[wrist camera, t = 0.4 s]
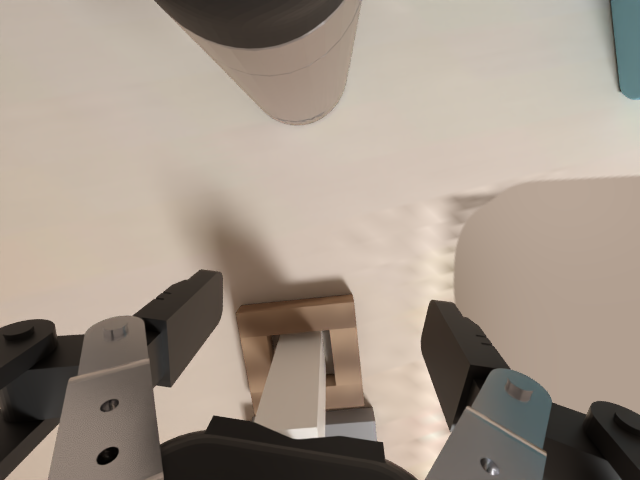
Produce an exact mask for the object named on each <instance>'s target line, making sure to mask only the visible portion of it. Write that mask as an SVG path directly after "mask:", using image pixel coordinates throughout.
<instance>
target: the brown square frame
mask: <svg viewBox="0 0 640 480" xmlns="http://www.w3.org/2000/svg"><path fill="white" fill-rule="evenodd" d="M236 318H237V323H238V329H239V334H240V339H241V345H242V350H243V355H244V361H245V366H246V371H247V377H248V382H249V387H250V393H251V398H252V403H253V409H254V414H255V415H256V413H257V410H258V406H259V403H260V400H261V397H262V393H263V390H264V387H265V383H266V380H267V377H268V373H269V370H270V367H271V364H272V360H273V357H274V354H275V352H274V346H273V340H272V335H280V334H291V333H301V332H312V331H323V330H330V338H331V347H332V355H333V363H334V372H335V374H326V401H325V409H334V408H346V407H358V406H364V397H363V387H362V377H361V367H360V357H359V347H358V337H357V327H356V317H355V307H354V300H353V295H352V294H350V295H340V296H330V297H320V298H310V299H300V300H290V301H280V302H270V303H260V304H250V305H241V306H240V308H239V309H238V311H237V312H236Z"/></svg>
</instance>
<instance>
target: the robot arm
mask: <svg viewBox="0 0 640 480" xmlns="http://www.w3.org/2000/svg"><path fill="white" fill-rule="evenodd" d="M154 1H155V2H156V3H157V4H158V5H159V6H160V7H161V8H162V9H163V10H164V11H165V12H166V13H167V14H168V15H169V16H170V17H171V18H172V19H173V20H174V21H175V22H176V23H177V24H178V25H179V26H180V27H181V28H182V29H183V30H184V31H185V32H186V33H187V34H188V35H189V36H190V37H191V38H192V39H193V40H194V41H195V42H196V43H197V44H198V45H199V46H200V47H201V48H202V49H203V50H204V51H205V52H206V53H207V54H208V55H209V56H210V57H211V58H212V59H213V60H214V61H215V62H216V63H217V64H218V65H219V66H220V67H221V68H222V69H223V70H224V71H225V72H226V73H227V74H228V75H229V76H230V77H231V78H232V79H233V80H234V81H235V83H236V84H237V85H238V86H239V87H240V88H241V89H242V90H243V91H244V92H245V93H246V94H247V95H248V96H249V97H250V98H251V99H252V100H253V101H254V102H255V103H256V104H257V105H258V106H259V107H260V108H261V109H262V110H263V111H264V112H265V113H266V114H268V115H269V116H270V117H272V118H273V119H275V120H277V121H280V122H282V123H285V124H290V125H305V124H309V123H313V122H315V121H317V120H319V119H321V118H323V117H324V116H325V115H327V114H328V113H329V112H330V111H331V110H332V109H333V108H334V107H335V106H336V104H337V103H338V101H339V100H340V98H341V96H342V94H343V91H344V88H345V85H346V81H347V76H348V71H349V67H350V61H351V56H352V51H353V45H354V40H355V35H356V29H357V24H358V19H359V14H360V8H361V3H362V0H154ZM222 310H223V277H222V273H221V272H218V271H210V270H202V269H201V270H199V271H198V272H197V273H195V274H194V275H193V276H192V277H191V278H189V279H188V280H183V281H181V282H178V283H176V284H173V285H172V286H170V287H169V288H168V289H166V290H165V291H164V292H163V293H161V294H160V295H159V296H157V297H156V299H154V300H152V301H151V302H150V303H148V304H147V305H146V306H144V307H143V308H142V309H141V310H139V311H138V312H137V313H135V314H134V315H133V316H117V317H112V318H109V319H105V320H103V321H100V322H98V323H96V324H94V325H93V326H91V327H90V328H89V329H88V330H87V331H86V333H85V334H83V335H67V336H57V334H56V329H55V324H54V323H53V322H51V321H49V320H44V319H34V320H26V321H21V322H17V323H13V324H10V325H7V326H4V327H2V328H0V480H4V479H5V478H6V477H7V476H8V475H9V474H10V473H11V472H12V471H13V470H14V469H15V468H16V467H17V466H18V465H19V464H20V463H21V462H22V461H23V460H24V459H25V458H26V457H27V456H28V455H29V454H30V453H31V451H32V450H33V449H34V448H35V447H36V446H37V445H38V444H39V443H40V442H41V441H42V440H43V439H44V438H45V437H46V436H47V435H48V434H49V433H50V432H51V431H52V430H53V429H54V428H55V427H56V426H57V425H58V424H59V428H58V433H57V438H56V443H55V447H54V452H53V457H52V462H51V467H50V472H49V477H48V480H418V479H417V478H415V477H414V476H413V475H412V474H410V473H409V472H407V471H406V470H405V469H403V468H402V467H400V466H398V465H396V464H394V463H393V462H391V461H389V460H386V459H385V455H384V447H383V442H377V441H371V440H365V439H358V438H352V437H346V436H330V437H319V438H307V439H293V438H290V437H288V436H285V435H283V434H281V433H278V432H276V431H274V430H272V429H269V428H267V427H265V426H262V425H260V424H258V423H255V422H251V421H245V420H239V419H232V418H226V417H220V416H213V418H212V420H211V421H210V423H209V425H208V427H207V429H206V430H204V431H197V432H192V433H188V434H184V435H181V436H178V437H176V438H173V439H171V440H168V441H166V442H164V443H162V444H160V443H159V435H158V426H157V418H156V410H155V402H154V394H153V388H154V387H155V386H156V385H158V386H164V387H172V385H173V384H174V383H175V381H176V380H177V379H178V377H179V376H180V375H181V373H182V372H183V371H184V369H185V368H186V367H187V365H188V364H189V363H190V361H191V360H192V358H193V357H194V356H195V354H196V353H197V352H198V350H199V349H200V348H201V346H202V345H203V344H204V342H205V341H206V340H207V338H208V337H209V336H210V334H211V333H212V332H213V330H214V329H215V327H216V326H217V325H218V323H219V321H220V319H221V315H222ZM421 351H422V355H423V357H424V360H425V363H426V366H427V369H428V371H429V374H430V377H431V380H432V383H433V385H434V388H435V391H436V394H437V397H438V399H439V402H440V405H441V408H442V411H443V413H444V416H445V419H446V422H447V425H448V427H449V430H450V432H452V433H451V435H450V436H449V438H448V440H447V442H446V443H445V445H444V447H443V449H442V450H441V452H440V454H439V456H438V457H437V459H436V461H435V463H434V464H433V466H432V468H431V470H430V471H429V473H428V475H427V477H426V479H425V480H640V415H639V414H637V413H635V412H633V411H631V410H629V409H627V408H625V407H622V406H620V405H617V404H613V403H610V402H604V401H597V402H594V403H592V404H591V406H590V408H589V410H588V412H587V414H583V413H580V412H577V411H575V410H572V409H569V408H566V407H563V406H560V405H557V404H555V403H552V400H551V397H550V395H549V394H548V392H547V391H546V390H545V389H544V388H543V387H542V386H541V385H540V384H539V383H537V382H536V381H534V380H533V379H531V378H530V377H528V376H526V375H524V374H522V373H519V372H517V371H514V370H511V369H510V368H509V366H508V365H507V364H506V362H505V361H504V360H503V358H502V357H501V356H500V354H499V353H498V351H497V350H496V349H495V347H494V346H492V343H491V342H490V340H489V339H488V338H486V335H485V334H484V332H483V331H482V329H481V328H480V327H479V326H478V325H477V324H475V323H474V322H473V321H471V320H470V319H468V318H466V317H463V316H462V314H461V313H460V311H459V310H458V308H457V307H456V305H455V304H454V303H453V302H445V301H438V300H431V301H430V303H429V306H428V311H427V315H426V319H425V323H424V328H423V332H422V336H421Z"/></svg>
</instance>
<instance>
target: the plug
mask: <svg viewBox="0 0 640 480" xmlns="http://www.w3.org/2000/svg"><path fill="white" fill-rule="evenodd" d="M325 401H326V363H325V355H324V347H323V339H322V332H321V331H312V332H301V333H291V334H280V337H279V340H278V344H277V347H276V350H275V354H274V357H273V360H272V364H271V367H270V370H269V373H268V377H267V380H266V383H265V387H264V390H263V393H262V397H261V400H260V403H259V406H258V410H257V413H256V416H255V420H254V422H255V423H258V424H260V425H262V426H265V427H267V428H269V429H272V430H274V431H276V432H278V433H281V434H283V435H285V436H288V437H290V438H293V439H307V438H319V437H325Z"/></svg>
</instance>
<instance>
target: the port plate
mask: <svg viewBox="0 0 640 480" xmlns="http://www.w3.org/2000/svg"><path fill="white" fill-rule="evenodd" d="M254 420H255V417H253V419H252V422H254ZM330 436H346V437H352V438H358V439H365V440H371V441H377V435H376V424H375V417H374V412H373V407H370V408H357V409H345V410H332V411H325V437H330Z"/></svg>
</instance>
